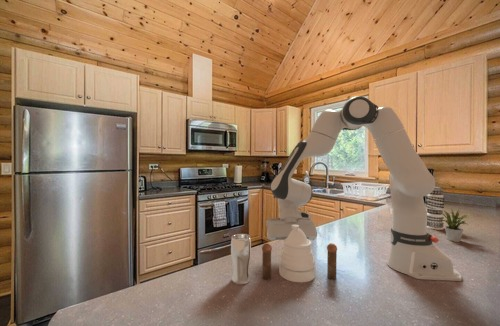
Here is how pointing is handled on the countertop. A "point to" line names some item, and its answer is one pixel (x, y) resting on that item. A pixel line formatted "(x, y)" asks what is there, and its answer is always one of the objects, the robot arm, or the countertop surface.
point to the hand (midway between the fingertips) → (293, 249)
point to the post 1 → (266, 262)
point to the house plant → (454, 226)
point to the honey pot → (297, 257)
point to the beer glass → (241, 258)
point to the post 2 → (331, 261)
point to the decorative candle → (435, 209)
